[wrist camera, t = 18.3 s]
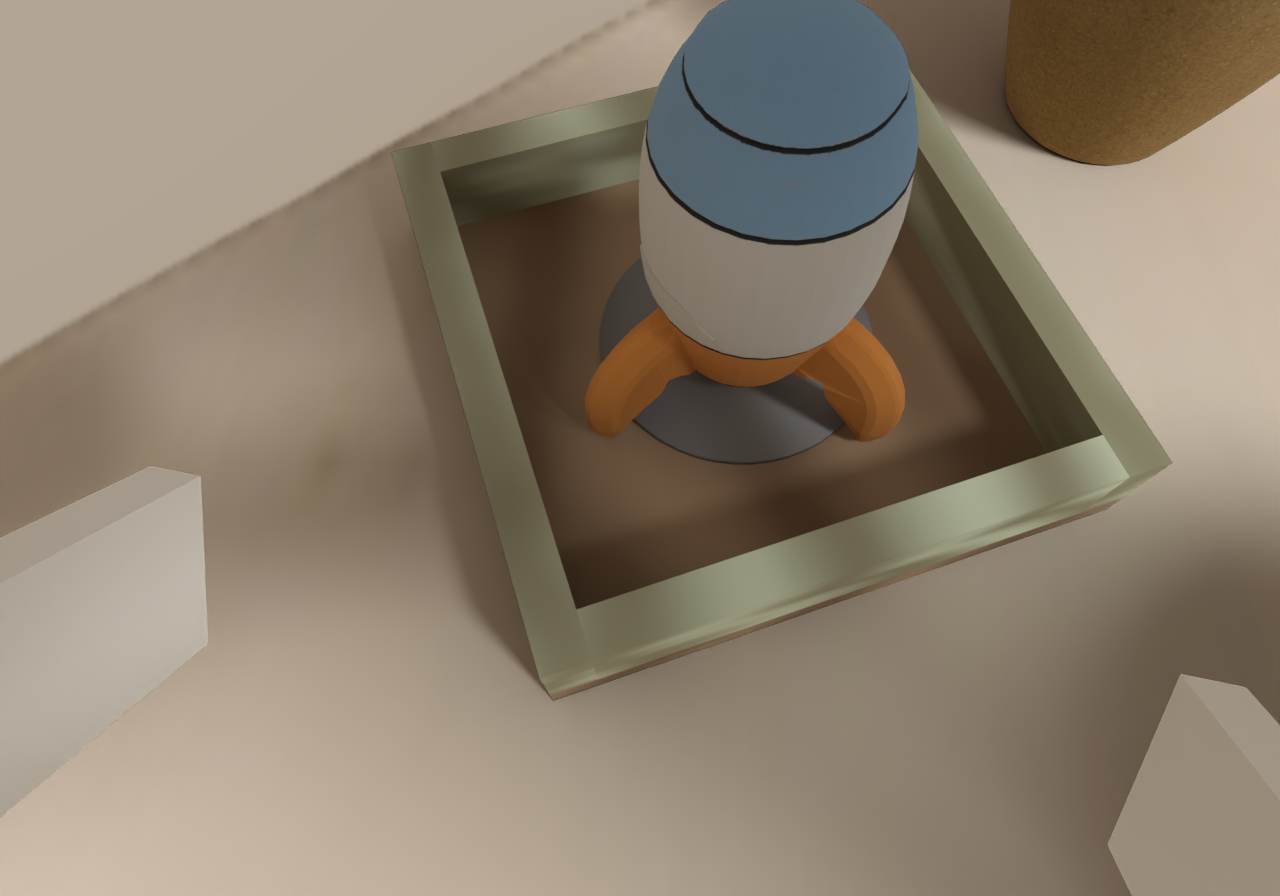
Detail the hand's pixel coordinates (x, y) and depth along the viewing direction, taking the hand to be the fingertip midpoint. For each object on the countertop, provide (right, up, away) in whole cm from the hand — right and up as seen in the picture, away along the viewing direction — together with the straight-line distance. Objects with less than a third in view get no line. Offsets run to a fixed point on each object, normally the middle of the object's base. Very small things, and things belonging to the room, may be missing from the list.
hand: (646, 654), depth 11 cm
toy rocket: (+4, +7, +19) cm, 21 cm away
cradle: (+3, +6, +20) cm, 22 cm away
